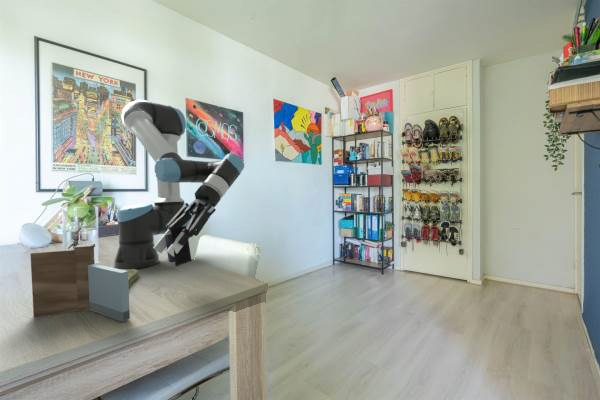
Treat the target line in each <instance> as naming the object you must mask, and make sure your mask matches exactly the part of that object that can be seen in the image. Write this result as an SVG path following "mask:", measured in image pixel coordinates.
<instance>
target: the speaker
mask: <svg viewBox="0 0 600 400" xmlns="http://www.w3.org/2000/svg"><path fill="white" fill-rule="evenodd" d="M183 229H186V226H182V227H177V228H171V229H170V234H166V235H165V239H166V246H167V247H166V250H167V249H168V248H169V247H170V246H171V244H173V243H174V241H175V240H176V238H177V237H178V235H179V234H180V233H181V232H184V231H183ZM184 233H185V232H184ZM190 247H191V246H190V242H189V239H188V240H187V242H186V243H185V244H184V245H183V247H182V248H181V249H180V251H179V252H178V253H176V252H175V250H174V257H173V256H172V255H171V254H169V253H168V252H167V251H166V253H167V259H168V263H174V265H175V267H178V266H181V265H184V264H186V263H189V262H190V263H191V262H192V255H191V254H192V253H191V249H190Z"/></svg>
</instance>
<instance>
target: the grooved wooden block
mask: <svg viewBox="0 0 600 400" xmlns="http://www.w3.org/2000/svg"><path fill="white" fill-rule="evenodd" d="M95 248H96V243H87V244H86V243H85V244H78V245H76V246H73V248H67V249H55V250H54V249H52V250H39V251H38V250H37V251H33V252H30V269H31V270H30V273H31V288H32V289H31V291H32V310H33V317H34V318H37V317H44V316H51V315H58V314H64V313H70V312H71V313H72V312H76V311H77V312H82V311H90V310H89V281H88V265H92V264H96V263H95Z"/></svg>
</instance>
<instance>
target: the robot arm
mask: <svg viewBox="0 0 600 400" xmlns="http://www.w3.org/2000/svg"><path fill="white" fill-rule="evenodd" d="M121 120H122V123H123V125H124V127H125V128H126V130H128V132H129V133H130V134H133V135H135V137H136V138H137V139H138V141H139V142H140V143H141V145H142V146H143V148H144V149H145V150H146V152H147V153H148V155H149V156H150V157H151V158H152V159H153V161H154V162H155V165H154V173H155V178H156V183H157V199H156V200H155V201H154V205H153V203H148V202H147V203H139V204H136V203H135V204H131V205H125V206H123V207H120V208H119V210H118V215H117V216H118V217H117V224H118V225H117V226H118V249H117V253H116V255H115V258H114V262H113V263H114V264H113V265H114V267H113V268H116V269H128V270H131V269H136V270H138V269H144V268H149V267H153V266H155V265H157V264H159V262H160V254H162V253H163V252H164V250H165V249H166V253H167V252H168V253H169V254H171V255H172V256H173V257H174V250H175V252H176V253H178V252H179V251H180V249H181V248H182V247H183V245H184V244H185V243H186V242H187V240H189V239H190V238H192V237H194V236H195V237H197V236H199V234H200V232H201V231H202V229H203V228H204V226H205V225H206V223H207V222H208V220H209V219H210V217H211V216H213V214H214V213H215V212H216V208H215V207H217V205H218V204H219V202H220V201H221V200H222V198H223V197H224V196H225V195H226V193H227V192H228V191H229V189H230V188H231V187H232V185H233V184H234V183H235V181H236V180H237V179H238V178H239V176H240V175H241V173H242V171H243V170H244V169H245V162H244V160H242V158H241V157H240V156H239V155H237V154H235V153H232V152H230V153H226V155H225V156H224V157H222V159H221V160H216V161H203V160H192V159H183V158H182V157H181V155H179V154H178V153H179V150H178V142H179V141H180V140H181V138H182V137H181V136H183V135H184V134H185V132H186V128H187V121H186V117H185V115H184V113H183V112H182V111H181V110H180V109H179V108H176V107H173V106H171V105H165V104H162V103H161V104H160V103H157V102H152V101H148V100H145V99H144V100H143V99H137V100H134V101H131V102H128V103H127V104H126V105H125V106H124V108H122V113H121ZM180 183H191V184H193V183H195V184H196V183H197V184H198V183H201V184H200V186H199V187H198V188H197V190H196V191H195V192H194V198H195V199H193V201H191V203H188V202H185V200H184V199H183V198H182V197H181V189H180V186H181V185H180ZM182 226H186V229H183V231H184V232H185V233H184V232H181V233H180V234H179V235H178V237H177V238H176V240H175V241H174V243H173V244H171V246H170V247H169V248H168V249H167V246H166V239H165V235H166V234H170V229H171V228H177V227H182ZM158 235H162V236H161V237H160V239H159V240H158V241H157V242H156V243H155V241H154V236H158ZM168 253H167V254H168Z"/></svg>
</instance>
